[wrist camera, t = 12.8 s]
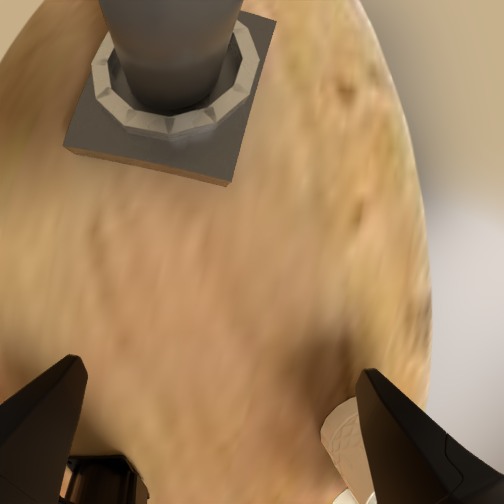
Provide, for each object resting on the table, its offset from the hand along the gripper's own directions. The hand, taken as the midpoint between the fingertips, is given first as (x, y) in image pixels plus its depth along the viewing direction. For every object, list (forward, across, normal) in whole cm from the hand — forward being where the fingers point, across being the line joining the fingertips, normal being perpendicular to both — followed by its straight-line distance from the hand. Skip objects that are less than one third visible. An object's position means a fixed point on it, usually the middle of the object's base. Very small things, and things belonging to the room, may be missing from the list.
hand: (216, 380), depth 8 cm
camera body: (+16, +5, -9) cm, 19 cm away
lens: (+14, +4, -10) cm, 18 cm away
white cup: (+9, -12, +18) cm, 23 cm away
